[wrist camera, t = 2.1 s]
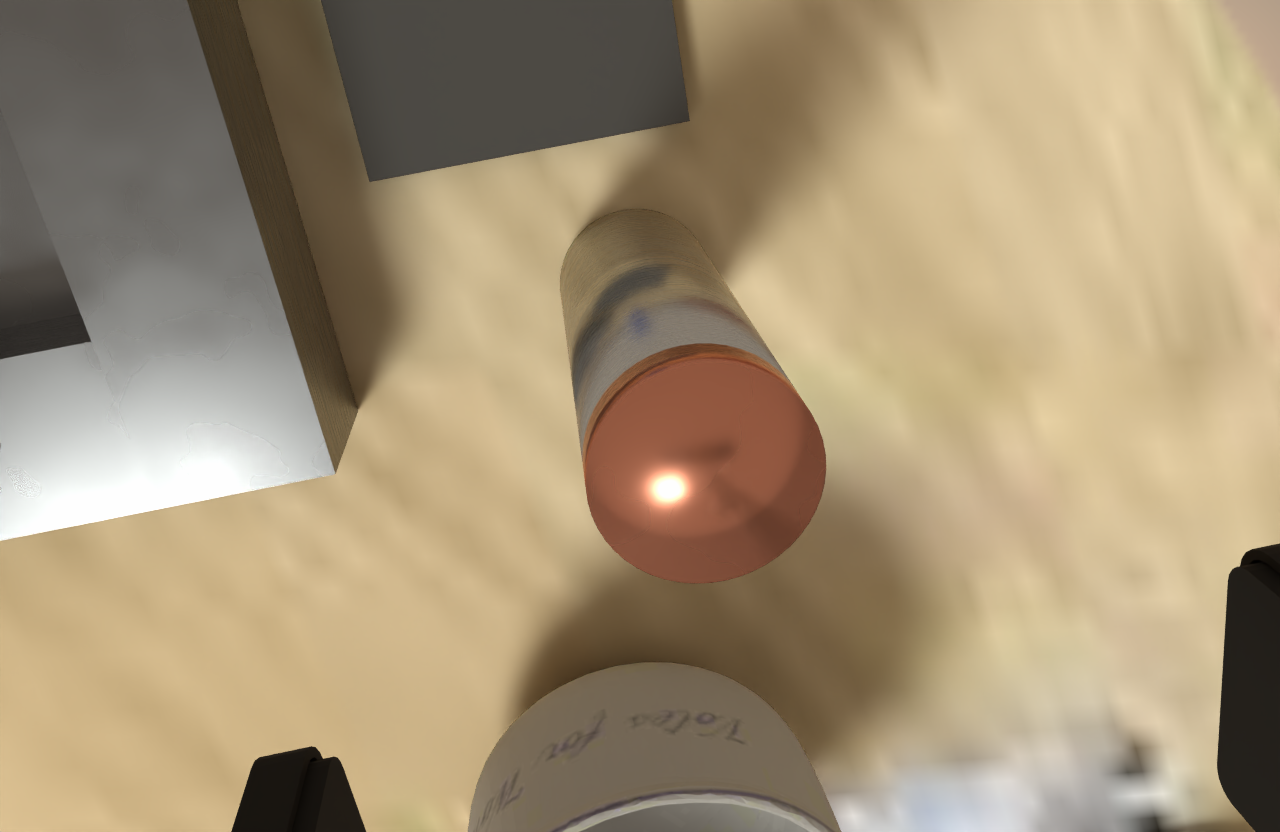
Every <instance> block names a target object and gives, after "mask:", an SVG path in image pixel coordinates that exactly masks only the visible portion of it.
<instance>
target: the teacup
mask: <svg viewBox="0 0 1280 832" xmlns="http://www.w3.org/2000/svg"><path fill="white" fill-rule="evenodd" d="M468 832H841V830H840V828H839V825H838V823H837V820H836V818H835V816H834V813H833V811H832V809H831V806H830V804H829V802H828V800H827V797H826V795H825V793H824V791H823V788H822V786H821V784H820V782H819V780H818V778H817V776H816V774H815V772H814V769H813V767H812V765H811V763H810V761H809V759H808V758H807V756H806V754H805V752H804V750H803V749H802V747H801V745H800V743H799V741H798V739H797V738H796V736H795V735H794V734H793V732H792V731H791V729H790V728H789V727H788V725H787V724H786V723H785V722H784V720H783V719H782V718H781V717H780V716H779V714H778V713H777V712H776V711H775V710H774V709H773V708H772V707H771V706H770V705H769V704H768V703H767V702H765V701H764V700H763V699H762V698H761V697H760V696H758V695H757V694H755V693H754V692H752V691H751V690H750V689H748V688H746V687H745V686H743V685H741V684H740V683H738V682H736V681H734V680H732V679H731V678H729V677H726V676H724V675H721V674H719V673H716V672H713V671H710V670H707V669H704V668H700V667H695V666H690V665H685V664H677V663H668V662H642V663H632V664H625V665H619V666H614V667H610V668H606V669H603V670H599V671H596V672H593V673H590V674H587V675H584V676H582V677H580V678H577V679H575V680H573V681H571V682H568V683H566V684H564V685H562V686H560V687H559V688H557V689H555V690H554V691H552V692H550V693H549V694H547V695H546V696H544V697H543V698H541V699H540V700H538V701H537V702H536V703H535V704H533V705H532V706H531V707H530V708H529V709H527V710H526V711H525V712H524V713H523V714H522V715H521V716H520V717H519V718H518V719H517V720H516V721H515V722H514V723H513V724H512V725H511V726H510V727H509V728H508V730H507V731H506V732H505V733H504V735H503V736H502V737H501V738H500V740H499V741H498V742H497V744H496V746H495V747H494V749H493V750H492V752H491V754H490V755H489V757H488V759H487V761H486V763H485V765H484V768H483V770H482V773H481V775H480V778H479V780H478V783H477V786H476V790H475V794H474V798H473V802H472V805H471V812H470V819H469V826H468Z"/></svg>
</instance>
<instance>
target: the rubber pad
mask: <svg viewBox="0 0 1280 832" xmlns="http://www.w3.org/2000/svg"><path fill="white" fill-rule="evenodd" d="M321 2H322V6H323V9H324V13H325V17H326V21H327V24H328V28H329V32H330V36H331V39H332V43H333V47H334V51H335V54H336V58H337V62H338V66H339V69H340V73H341V77H342V80H343V84H344V88H345V92H346V95H347V99H348V103H349V107H350V110H351V114H352V118H353V122H354V125H355V129H356V133H357V137H358V140H359V144H360V148H361V152H362V155H363V159H364V163H365V166H366V170H367V174H368V178H369V181H370V182H372V181H377V180H383V179H388V178H393V177H398V176H404V175H409V174H414V173H419V172H425V171H430V170H435V169H440V168H446V167H451V166H456V165H461V164H467V163H472V162H477V161H482V160H488V159H493V158H498V157H503V156H509V155H514V154H519V153H524V152H530V151H535V150H540V149H545V148H551V147H556V146H561V145H567V144H572V143H577V142H582V141H588V140H593V139H598V138H603V137H609V136H614V135H619V134H624V133H630V132H635V131H640V130H645V129H651V128H656V127H661V126H666V125H672V124H677V123H682V122H687V121H690V120H689V113H688V106H687V100H686V93H685V86H684V79H683V73H682V66H681V59H680V52H679V46H678V39H677V32H676V25H675V19H674V12H673V5H672V0H321Z"/></svg>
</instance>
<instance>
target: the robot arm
mask: <svg viewBox="0 0 1280 832" xmlns="http://www.w3.org/2000/svg"><path fill="white" fill-rule="evenodd" d="M1217 770H1218V775H1219V780H1220V783H1221V785H1222V788H1223V790H1224V792H1225V794H1226V796H1227V798H1228V799H1229V800H1230V802H1231V803H1232V805H1233V806H1234V807H1235V808H1236V809H1237V810H1238V812H1239V813H1240V814H1241V815H1242V816H1243V817H1244V819H1245V820H1246V821H1247V822H1248V823H1249V825H1250V826H1251V827H1252V828H1253V829H1254V830H1255V832H1280V544H1275V545H1270V546H1266V547H1261V548H1256V549H1252V550H1250V551H1248V552H1246V553H1245V555H1244V556H1243V558H1242V560H1241V565H1240V567H1236V568H1234V569H1232V571H1231V572H1230V574H1229V579H1228V590H1227V607H1226V624H1225V640H1224V657H1223V674H1222V691H1221V708H1220V725H1219V742H1218V758H1217ZM231 832H366V830H365V827H364V824H363V822H362V819H361V816H360V813H359V810H358V808H357V805H356V802H355V799H354V797H353V794H352V791H351V788H350V785H349V783H348V780H347V777H346V774H345V771H344V769H343V766H342V764H341V762H340V760H339V759H338V758H337V757H330V758H326V759H323V758H322V756H321V754H320V752H319V751H318V750H317V748H316V747H312V746H311V747H307V748H302V749H297V750H292V751H288V752H283V753H278V754H273V755H269V756H264V757H259V758H258V759H257V760H255V762H254V764H253V766H252V768H251V771H250V774H249V777H248V781H247V784H246V787H245V790H244V793H243V797H242V800H241V803H240V806H239V809H238V812H237V816H236V819H235V822H234V825H233V828H232V831H231Z"/></svg>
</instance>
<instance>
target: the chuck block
mask: <svg viewBox="0 0 1280 832" xmlns="http://www.w3.org/2000/svg"><path fill="white" fill-rule="evenodd" d="M357 413H358V409H357V406H356V402H355V399H354V396H353V392H352V389H351V386H350V382H349V379H348V375H347V372H346V369H345V365H344V362H343V359H342V355H341V352H340V348H339V345H338V342H337V338H336V335H335V332H334V328H333V325H332V321H331V318H330V315H329V311H328V308H327V305H326V301H325V298H324V294H323V291H322V288H321V284H320V281H319V277H318V274H317V271H316V267H315V264H314V261H313V257H312V254H311V250H310V247H309V244H308V240H307V237H306V234H305V230H304V227H303V223H302V220H301V217H300V213H299V210H298V207H297V203H296V200H295V196H294V193H293V190H292V186H291V183H290V180H289V176H288V173H287V169H286V166H285V163H284V159H283V156H282V153H281V149H280V146H279V142H278V139H277V136H276V132H275V129H274V126H273V122H272V119H271V115H270V112H269V109H268V105H267V102H266V99H265V95H264V92H263V88H262V85H261V82H260V78H259V75H258V72H257V68H256V65H255V61H254V58H253V55H252V51H251V48H250V45H249V41H248V38H247V34H246V31H245V28H244V24H243V21H242V18H241V14H240V11H239V7H238V4H237V1H236V0H0V541H1V540H6V539H11V538H16V537H21V536H26V535H31V534H36V533H41V532H46V531H51V530H56V529H61V528H66V527H71V526H76V525H81V524H86V523H91V522H97V521H102V520H107V519H112V518H117V517H122V516H127V515H132V514H137V513H142V512H147V511H152V510H157V509H162V508H167V507H172V506H177V505H182V504H187V503H192V502H197V501H202V500H207V499H212V498H218V497H223V496H228V495H233V494H238V493H243V492H248V491H253V490H258V489H263V488H268V487H273V486H278V485H283V484H288V483H293V482H298V481H303V480H308V479H313V478H318V477H323V476H328V475H333V474H336V471H337V468H338V465H339V463H340V460H341V457H342V454H343V451H344V449H345V446H346V443H347V440H348V438H349V435H350V432H351V429H352V426H353V424H354V421H355V418H356V415H357Z"/></svg>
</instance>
